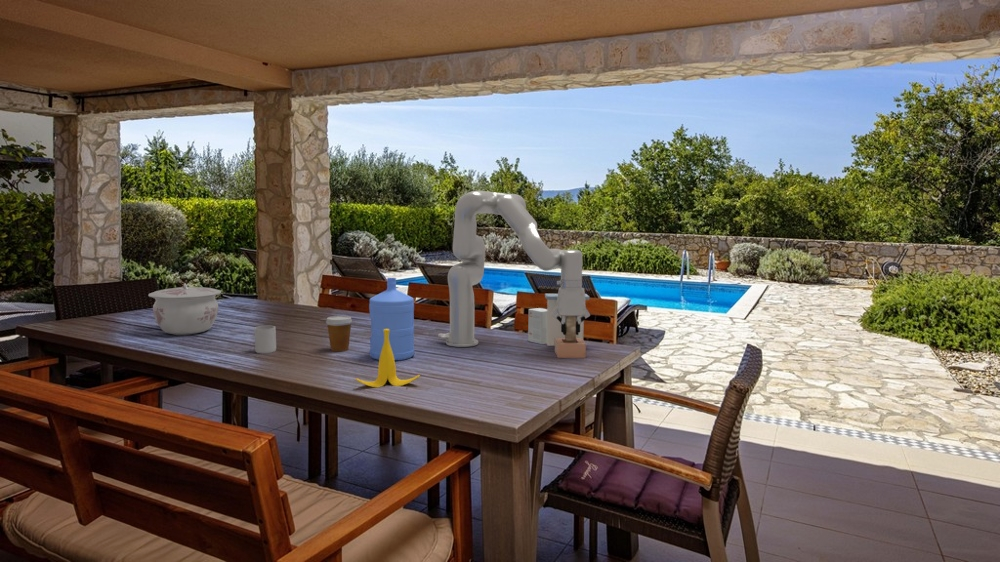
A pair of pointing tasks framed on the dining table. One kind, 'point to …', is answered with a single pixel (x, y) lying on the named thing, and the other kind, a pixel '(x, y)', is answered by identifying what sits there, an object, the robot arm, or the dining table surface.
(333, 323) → the disposable coffee cup
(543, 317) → the small box
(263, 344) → the cup
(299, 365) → the dining table surface
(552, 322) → the lidded rectangular box
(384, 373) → the banana peel
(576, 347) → the socket
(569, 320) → the peg
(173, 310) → the chamber pot
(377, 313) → the water jug
